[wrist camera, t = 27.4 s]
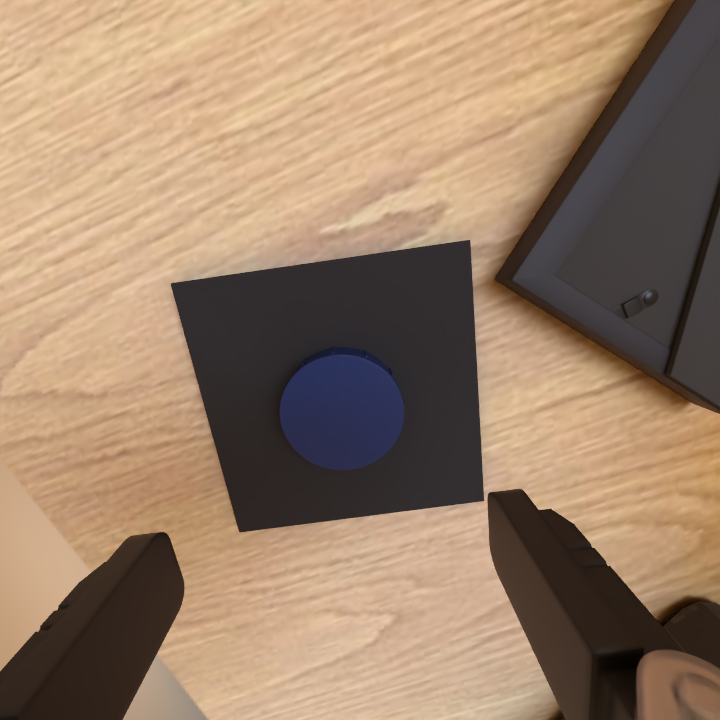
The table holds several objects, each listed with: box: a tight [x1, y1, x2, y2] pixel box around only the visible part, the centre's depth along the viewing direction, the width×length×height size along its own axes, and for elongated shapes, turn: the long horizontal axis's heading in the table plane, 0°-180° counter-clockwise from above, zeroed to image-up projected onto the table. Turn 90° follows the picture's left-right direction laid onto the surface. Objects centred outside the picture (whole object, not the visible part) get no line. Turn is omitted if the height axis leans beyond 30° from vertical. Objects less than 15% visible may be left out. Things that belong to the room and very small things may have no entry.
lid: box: [280, 346, 405, 470], centre depth 17 cm, size 6×6×2 cm
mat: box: [171, 240, 484, 532], centre depth 18 cm, size 14×14×1 cm
